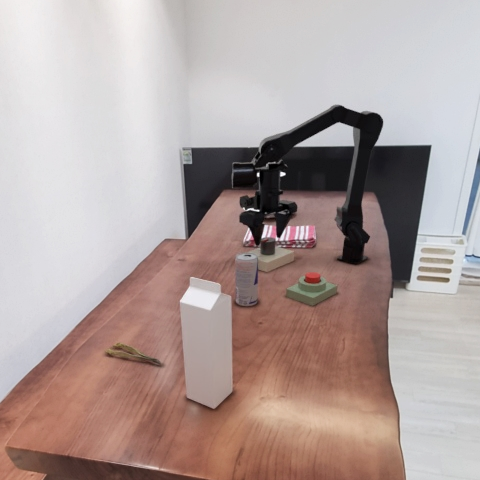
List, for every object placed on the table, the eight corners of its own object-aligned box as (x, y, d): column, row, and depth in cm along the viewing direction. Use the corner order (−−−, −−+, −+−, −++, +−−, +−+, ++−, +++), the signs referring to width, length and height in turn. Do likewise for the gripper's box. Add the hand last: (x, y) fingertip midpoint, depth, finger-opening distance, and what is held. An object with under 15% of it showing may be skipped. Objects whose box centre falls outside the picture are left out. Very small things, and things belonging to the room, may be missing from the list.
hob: (267, 253, 145) (268, 243, 143) (293, 260, 138) (294, 250, 136) (241, 263, 138) (241, 253, 137) (266, 272, 131) (267, 261, 130)
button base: (310, 284, 122) (311, 270, 120) (336, 293, 117) (338, 278, 115) (285, 296, 117) (286, 281, 115) (312, 306, 111) (313, 290, 109)
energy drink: (259, 298, 116) (260, 253, 111) (254, 308, 112) (255, 260, 106) (238, 296, 118) (238, 251, 112) (233, 305, 114) (232, 259, 108)
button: (310, 277, 117) (311, 271, 116) (322, 281, 115) (323, 274, 114) (301, 281, 115) (302, 275, 114) (314, 285, 113) (314, 279, 112)
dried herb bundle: (157, 369, 91) (156, 360, 90) (104, 357, 97) (102, 349, 96) (168, 358, 94) (167, 349, 93) (116, 348, 100) (114, 339, 99)
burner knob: (266, 249, 139) (267, 235, 137) (278, 252, 136) (278, 238, 134) (257, 252, 137) (257, 238, 135) (268, 256, 134) (268, 241, 132)
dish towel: (316, 248, 146) (316, 237, 145) (242, 247, 151) (242, 236, 150) (315, 232, 161) (315, 222, 160) (247, 231, 166) (247, 221, 164)
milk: (205, 381, 86) (200, 270, 76) (233, 392, 83) (231, 277, 73) (185, 398, 82) (177, 282, 72) (214, 410, 79) (209, 290, 69)
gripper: (269, 177, 139) (268, 229, 146) (224, 189, 128) (225, 243, 135) (299, 182, 131) (296, 235, 138) (254, 194, 120) (254, 252, 128)
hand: (268, 241), depth 135 cm, fingers open, 9 cm apart
